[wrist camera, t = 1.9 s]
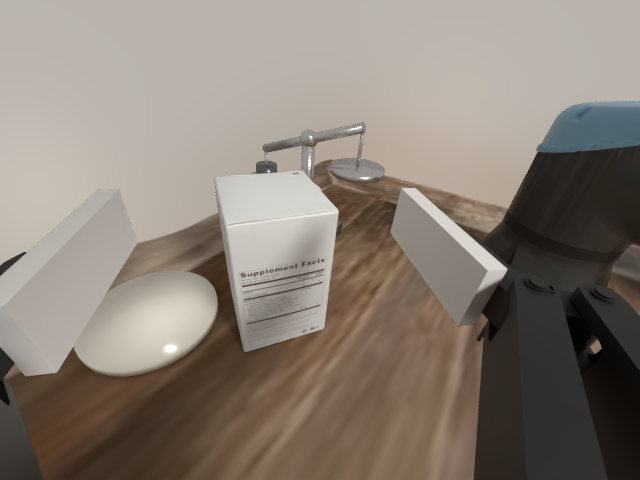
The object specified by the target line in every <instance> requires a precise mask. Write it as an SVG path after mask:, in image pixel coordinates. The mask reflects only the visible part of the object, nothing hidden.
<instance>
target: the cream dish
mask: <svg viewBox="0 0 640 480" xmlns="http://www.w3.org/2000/svg"><path fill="white" fill-rule="evenodd" d="M217 314H218V299H217V295H216V291H215V289H214V287H213V286H212V284H211V283H210V282H209V281H208V280H207V279H205V278H204V277H202V276H200V275H198V274H195V273H191V272H187V271H178V270H169V271H159V272H153V273H149V274H145V275H142V276H138V277H136V278H133V279H130V280H128V281H126V282H123V283H121V284H119V285H118V286H116V287H114V288H112V289H111V290H109V291H107V293H106V294H105V296H104V298H103V299H102V301H101V302H100V304H99V306H98V307H97V309H96V310H95V312H94V314H93V315H92V317H91V319H90V320H89V322H88V323H87V325H86V327H85V328H84V330H83V331H82V333H81V335H80V336H79V338H78V340H77V341H76V343H75V344H74V346H73V347H74V350H75V352H76V354H77V356H78V357H79V358H80V360H81V361H82V362H83V363H84V365H85V366H86V367H88V368H89V369H91V370H92V371H94V372H96V373H99V374H102V375H106V376H114V377H127V376H135V375H141V374H145V373H149V372H152V371H155V370H158V369H160V368H163V367H165V366H167V365H169V364H171V363H173V362H175V361H177V360H178V359H180V358H182V357H183V356H185V355H186V354H188V353H189V352H190V351H192V350H193V349H194V348H195V347H196V346H197V345H198V344H199V343H200V342H201V341H202V340H203V339H204V338H205V337H206V336H207V334H208V333H209V332H210V330H211V328H212V327H213V325H214V323H215V321H216V318H217Z"/></svg>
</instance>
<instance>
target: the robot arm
mask: <svg viewBox="0 0 640 480" xmlns="http://www.w3.org/2000/svg"><path fill="white" fill-rule="evenodd" d="M536 150H537V151H538V152H537V154H536V157H535V158H534V160H533V163H532V164H531V166H530V168H529V170H528V172H527V174H526V176H525V178H524V180H523V182H522V184H521V186H520V188H519V189H518V191H517V193H516V195H515V197H514V199H513V201H512V203H511V205H510V207H509V209H508V211H507V213H506V214H505V216H504V218H503V220H502V221H501V223H500V224H499V225H497V226H496V227H495V228H494V229H493V230H492V231H491V232H490V233H489V234H488V235H487V236H486V237H485V238H484V239H483V240H482V241H480V240H479V239H477V238H476V237H474V236H472V235H470V234H468V233H466V232H465V231H463V230H462V229H461V228H460V227H459V226H458V225H457V224H455V223H454V222H453V221H452V220H451V219H450V218H449V217H447V216H446V215H445V214H444V213H443V212H442V211H441V210H439V209H438V208H437V207H436V206H435V205H434V204H433V203H431V202H430V201H429V200H428V199H427V198H426V197H425V196H423V195H422V194H421V193H420V192H419V191H418V190H417V189H415V188H402V189H401V192H400V196H399V200H398V204H397V208H396V212H395V216H394V220H393V223H392V227H391V231H390V233H391V235H392V236H393V237H394V239H395V240H396V242H397V243H398V244H399V246H400V247H401V248H402V250H403V251H404V253H405V254H406V255H407V257H408V258H409V259H410V261H411V262H412V264H413V265H414V266H415V268H416V269H417V270H418V272H419V273H420V275H421V276H422V277H423V279H424V280H425V281H426V283H427V284H428V286H429V287H430V288H431V290H432V291H433V292H434V294H435V295H436V297H437V298H438V299H439V301H440V302H441V303H442V305H443V306H444V308H445V309H446V310H447V312H448V313H449V314H450V316H451V317H452V319H453V320H454V321H455V323H456V324H457V325H458V326H464V325H472V324H476V322H477V321H478V319H479V317H480V316H481V314H482V313H483V314H484V316H485V317H486V318H487V319H488V321H487V323H486V325H485V326H484V328H483V329H482V331H481V333H480V334H479V336H478V338H477V341H480V340H481V338H483V337H484V341H483V355H482V369H481V383H480V397H479V412H478V426H477V440H476V454H475V468H474V480H640V316H639V315H638V314H637V313H636V311H635V310H634V309H633V308H632V307H631V306H630V305H629V304H628V303H627V301H626V300H624V299H623V298H622V297H621V296H620V295H618V294H617V293H615V292H613V290H611V289H609V288H607V286H608V282H609V279H610V275H611V271H612V268H613V265H614V263H615V262H616V261H617V260H618V258H619V257H620V256H621V255H622V254H623V252H624V251H625V250H626V249H627V248H628V247H629V246H630V245H637V246H640V101H613V102H589V103H581V104H577V105H573V106H571V107H569V108H567V109H566V110H564V111H563V112H562V113H561V114H559V115H558V116H557V118H556V119H555V121H554V123H553V125H552V126H551V128H550V130H549V131H548V133H547V135H546V137H545V138H544V140H543V142H542V143H541V144H539V145H538V147H537V149H536ZM137 243H138V242H137V239H136V237H135V234H134V231H133V229H132V226H131V223H130V220H129V217H128V214H127V211H126V208H125V206H124V203H123V200H122V197H121V194H120V191H119V190H97V191H96V192H95V193H94V194H93V195H92V196H91V197H89V198H88V199H87V200H86V201H85V202H84V203H83V204H82V205H80V206H79V207H78V208H77V209H76V210H75V211H74V212H72V213H71V214H70V215H69V216H68V217H67V218H66V219H65V220H63V221H62V222H61V223H60V224H59V225H58V226H57V227H56V228H54V229H53V230H52V231H51V232H50V233H49V234H48V235H47V236H45V237H44V238H43V239H42V240H41V241H40V242H38V243H37V244H36V245H35V246H34V247H33V248H32V249H31V250H29V251H28V252H23V253H21V254H19V255H17V256H15V257H13V258H12V259H10V260H8V261H6V262H4V263H3V264H2V265H1V266H0V480H43V477H42V474H41V471H40V468H39V466H38V463H37V460H36V457H35V454H34V451H33V448H32V445H31V442H30V439H29V436H28V433H27V430H26V427H25V424H24V422H23V419H22V416H21V413H20V410H19V407H18V404H17V401H16V398H15V395H14V392H13V389H12V386H11V384H10V383H9V382H8V381H7V380H6V379H5V378H4V377H5V375H6V374H7V373H8V371H9V370H10V369H11V368H12V366H13V365H15V366H16V367H17V368H18V369H19V370H20V371H21V372H22V373H23V374H24V375H25V376H33V375H41V374H50V373H57V372H58V370H59V369H60V367H61V365H62V364H63V362H64V361H65V359H66V357H67V356H68V354H69V352H70V351H71V349H72V348H73V346H74V344H75V343H76V341H77V340H78V338H79V336H80V335H81V333H82V331H83V330H84V328H85V327H86V325H87V323H88V322H89V320H90V319H91V317H92V315H93V314H94V312H95V310H96V309H97V307H98V306H99V304H100V302H101V301H102V299H103V298H104V296H105V294H106V293H107V291H108V289H109V288H110V286H111V285H112V283H113V281H114V280H115V278H116V277H117V275H118V273H119V272H120V270H121V269H122V267H123V265H124V264H125V262H126V260H127V259H128V257H129V256H130V254H131V252H132V251H133V249H134V248H135V246H136V244H137ZM597 339H598V340H599V342H600V344H601V347H602V349H601V350H600V351H599V352H598V353H596V354H594V353H593V351H592V350H591V348H590V346H591V345H592V344H593V343H594V342H595V341H596V340H597Z"/></svg>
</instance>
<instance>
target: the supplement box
mask: <svg viewBox="0 0 640 480" xmlns="http://www.w3.org/2000/svg"><path fill="white" fill-rule="evenodd" d="M215 188H216V196H217V204H218V211H219V218H220V225H221V231H222V238H223V244H224V251H225V257H226V263H227V269H228V275H229V281H230V287H231V292H232V297H233V302H234V307H235V312H236V317H237V322H238V327H239V332H240V337H241V342H242V347H243V351H244V352H248V351H251V350H254V349H258V348H261V347H265V346H268V345H271V344H275V343H278V342H282V341H285V340H288V339H292V338H295V337H298V336H302V335H305V334H308V333H312V332H315V331H318V330H322V329H324V325H325V317H326V309H327V301H328V293H329V285H330V277H331V269H332V261H333V253H334V245H335V237H336V230H337V221H338V213H339V211H338V209H337V208H336V207H335V206H334V205H333V204H332V203H331V202H330V201H329V199H328V198H327V197H326V196H325V195H324V194H323V193H322V191H321V189H320V188H319V187H318V186H317V185H316V184H314V183H313V182H312V180H311V179H310V178H309V177H308V176H307V175H306V174H305V172H304V171H302V170H299V171H289V172H278V173H264V174H245V175H229V176H220V177H215Z"/></svg>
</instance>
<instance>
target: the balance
mask: <svg viewBox="0 0 640 480" xmlns="http://www.w3.org/2000/svg"><path fill="white" fill-rule="evenodd" d="M365 129H366V128H365V124H364V122H362V123H357V124H353V125H349V126H344V127H340V128H335V129H331V130H326V131H322V132H317V133H315V132H314V131H312V130H305V131H304V132H303V133H302V134H301V136H300V137H295V138H291V139H287V140H282V141H277V142H273V143H269V144H264V145H263V150H264V152H265V161H261V162H258V163H257V164H256V172H254V173H251V174H264V173H278V172H277V164H276V163H275V162H271V161H268V159H267V152H272V151H276V150H282V149H287V148H292V147H297V146H301V145H302V166H301V170H302V171H304V172H305V174H306V175H307V176H308V177H309V178H310V179H311V180H312V182H313V176H314V158H315V145H316V144H317V142H321V141H326V140H331V139H336V138H341V137H346V136H351V135H356V134H361V136H360V143H359V151H358V157H357V158H342V159H337V160H335V161H333V162H332V163H331V168H330V172H331V174H332V175H333V176H335V177H337V178H339V179H341V180H344V181H348V182H354V183H374V182H378V181H380V180H382V179H383V177H384V171H385V170H384V168H383V167H382V166H381V165H379V164H378V163H375V162H372V161H369V160H365V159H360V158H361V151H362V145H363V138H364V133H365ZM341 228H342V222H341V221H337V230H336V237H337V236H338V235H339V234H340V233H341ZM336 237H335V238H336Z"/></svg>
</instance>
